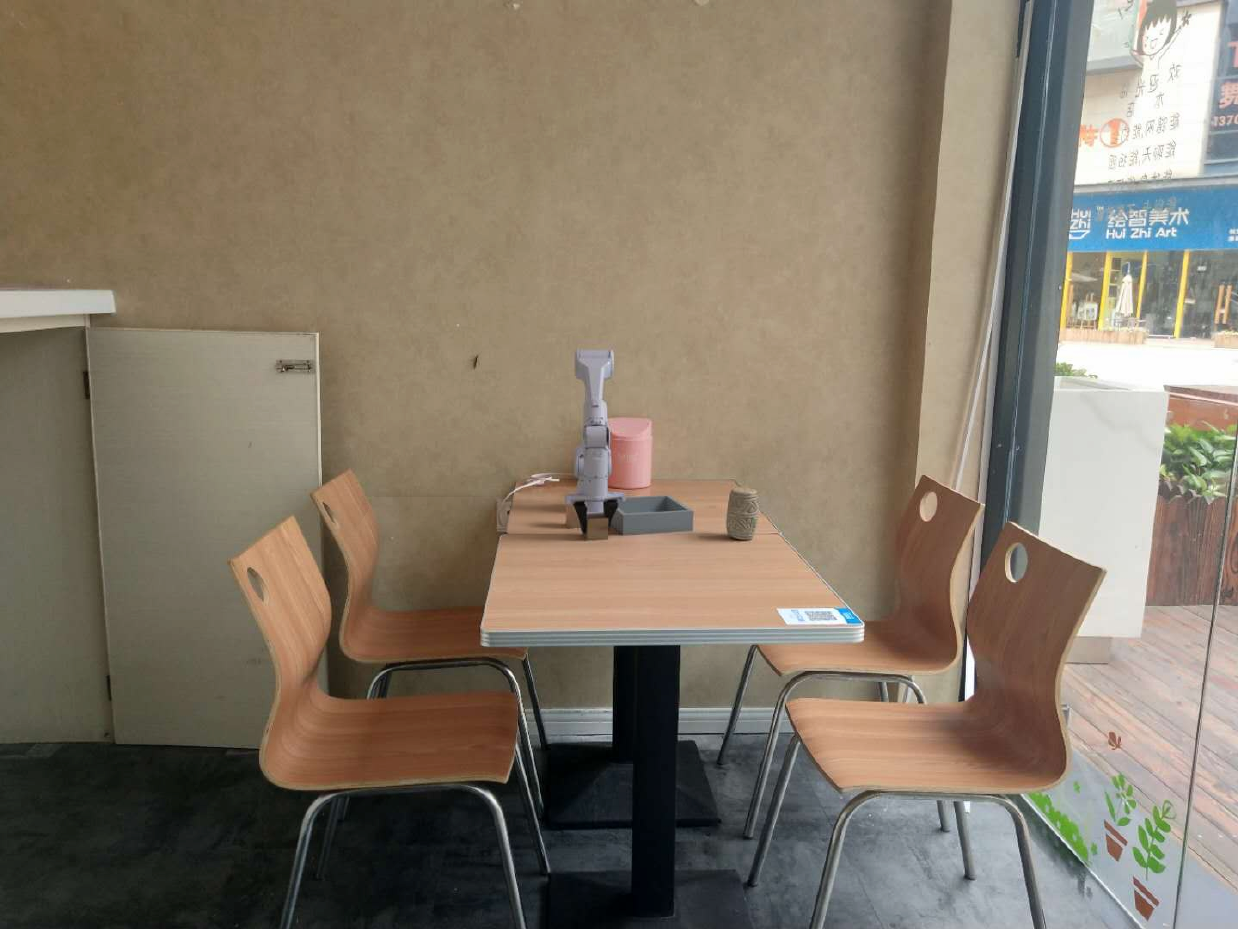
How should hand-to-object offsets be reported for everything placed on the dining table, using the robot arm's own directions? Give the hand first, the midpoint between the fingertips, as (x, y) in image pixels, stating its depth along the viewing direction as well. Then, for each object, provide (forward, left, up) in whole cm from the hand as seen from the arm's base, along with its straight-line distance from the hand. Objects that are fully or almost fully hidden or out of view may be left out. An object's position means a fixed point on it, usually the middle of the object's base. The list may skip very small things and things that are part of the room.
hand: (595, 531), depth 216 cm
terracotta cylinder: (-11, -2, -2) cm, 11 cm away
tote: (-9, +16, -1) cm, 18 cm away
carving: (+9, +34, -2) cm, 35 cm away
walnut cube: (0, 0, -1) cm, 1 cm away
